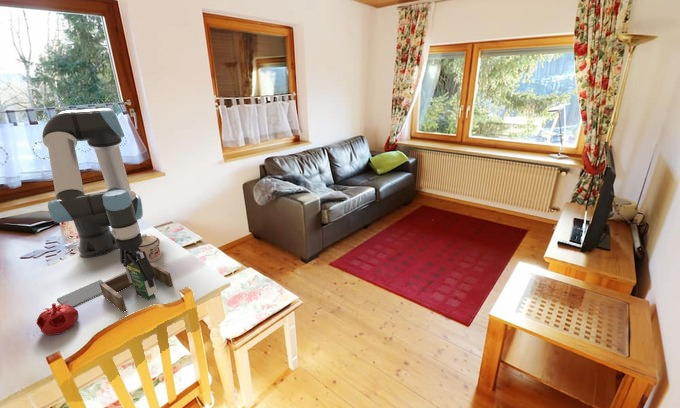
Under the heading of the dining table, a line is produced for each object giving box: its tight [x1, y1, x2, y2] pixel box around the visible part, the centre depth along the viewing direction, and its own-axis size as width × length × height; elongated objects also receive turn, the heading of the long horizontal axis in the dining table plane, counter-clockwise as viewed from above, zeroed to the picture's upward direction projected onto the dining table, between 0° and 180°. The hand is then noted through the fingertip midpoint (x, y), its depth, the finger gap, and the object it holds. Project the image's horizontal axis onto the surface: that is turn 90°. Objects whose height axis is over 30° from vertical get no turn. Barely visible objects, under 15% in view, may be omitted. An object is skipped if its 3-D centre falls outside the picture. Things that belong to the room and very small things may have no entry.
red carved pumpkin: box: [36, 301, 80, 336], centre depth 102 cm, size 10×10×9 cm
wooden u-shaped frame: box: [100, 261, 174, 313], centre depth 119 cm, size 15×18×6 cm
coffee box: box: [127, 262, 156, 301], centre depth 116 cm, size 8×3×13 cm, turn 61°
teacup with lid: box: [139, 233, 162, 263], centre depth 142 cm, size 12×9×12 cm
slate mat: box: [56, 279, 104, 308], centre depth 120 cm, size 10×14×1 cm
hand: (143, 287), depth 117 cm, fingers open, 13 cm apart
